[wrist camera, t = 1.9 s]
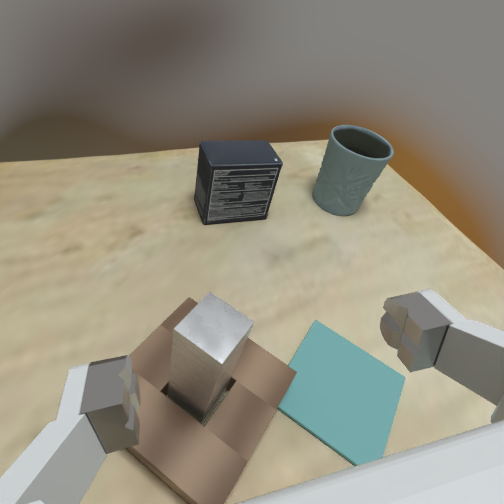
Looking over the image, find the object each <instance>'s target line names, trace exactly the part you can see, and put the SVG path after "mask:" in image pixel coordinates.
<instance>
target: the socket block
mask: <svg viewBox="0 0 504 504" xmlns="http://www.w3.org/2000/svg"><path fill="white" fill-rule="evenodd" d="M197 304H198V303H197V302H195V301H194V300H193V299H191V298H190V297H189V298H188V299H187V300H185V301H184V302H183V303H182V304H181V305H180V306H179V307H178V308H177V309H176V310H175V311H174V312H173V313H172V314H171V315H170V316H169V317H168V318H167V319H166V320H165V321H164V322H163V323H162V324H161V325H160V326H159V327H158V328H157V329H156V330H155V331H154V332H153V333H152V334H151V335H150V336H149V337H148V338H147V339H146V340H145V341H144V342H143V343H141V344H140V345H139V346H138V347H137V348H136V349H135V350H134V351H133V352H132V353H131V354H130V355H129V357H130V359H131V362H132V372H133V373H135V374H136V376H137V379H138V383H139V388H140V408H139V409H138V411H137V412H136V413H137V415H138V418H139V421H140V430H139V445H135V446H132V447H128V448H126V449H127V450H128V451H129V452H130V453H132V454H133V455H134V456H135V457H136V458H137V459H138V460H140V461H141V462H142V463H143V464H144V465H145V466H146V467H148V468H149V469H150V470H151V471H152V472H153V473H154V474H156V475H157V476H158V477H159V478H160V479H161V480H162V481H164V482H165V483H166V484H167V485H168V486H169V487H170V488H172V489H173V490H174V491H175V492H176V493H177V494H178V495H180V496H181V497H182V498H183V499H184V500H185V501H186V502H188V503H189V504H224V502H225V500H226V499H227V497H228V495H229V493H230V491H231V490H232V488H233V486H234V484H235V482H236V481H237V479H238V477H239V475H240V474H241V472H242V470H243V468H244V466H245V465H246V463H247V461H248V459H249V458H250V456H251V454H252V452H253V450H254V449H255V447H256V445H257V443H258V441H259V440H260V438H261V436H262V434H263V433H264V431H265V429H266V427H267V425H268V424H269V422H270V420H271V418H272V417H273V415H274V413H275V411H276V409H277V408H278V406H279V404H280V402H281V400H282V399H283V397H284V395H285V393H286V392H287V390H288V388H289V386H290V384H291V383H292V381H293V379H294V377H295V375H296V374H297V372H296V371H295V370H293V369H292V368H291V367H289V366H288V365H286V364H285V363H283V362H282V361H280V360H279V359H278V358H276V357H275V356H273V355H272V354H270V353H269V352H267V351H266V350H265V349H263V348H262V347H260V346H259V345H257V344H256V343H255V342H253V341H252V340H250V339H249V338H247V340H246V343H245V345H244V348H243V350H242V352H241V355H240V357H239V360H238V362H237V364H236V367H235V369H234V372H233V374H232V376H231V379H230V381H229V384H228V386H227V388H226V389H228V390H229V392H228V394H227V395H226V396H225V398H224V399H223V401H222V402H221V404H220V405H219V407H218V408H217V409H216V411H215V412H214V414H213V415H212V417H211V418H210V419H209V421H208V422H207V424H206V425H205V427H204V426H203V425H202V424H200V423H199V422H198V421H197V420H195V419H194V418H193V417H192V416H190V415H189V414H188V413H187V412H185V411H184V410H183V409H182V408H180V407H179V406H178V405H176V404H175V403H174V402H173V401H171V400H170V399H169V398H168V397H166V395H167V393H168V386H169V375H170V364H171V353H172V342H173V331H174V328H175V327H176V326H177V325H178V324H179V323H180V322H181V321H182V320H183V319H184V318H185V317H186V316H187V315H188V314H189V313H190V312H191V311H192V310H193V309H194V308H195V306H196V305H197Z"/></svg>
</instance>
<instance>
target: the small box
mask: <svg viewBox="0 0 504 504" xmlns="http://www.w3.org/2000/svg"><path fill="white" fill-rule="evenodd" d="M282 165H283V162H282V161H281V159H280V158H279V156H278V155H277V154H276V152H275V151H274V149H273V148H272V146H271V145H270V144H269V142H268V141H200V147H199V158H198V168H197V178H196V187H195V196H194V200H195V203H196V206H197V209H198V212H199V214H200V217H201V220H202V223H203V224H204V225H207V224H218V223H228V222H239V221H249V220H259V219H266V218H267V215H268V210H269V207H270V203H271V200H272V197H273V193H274V190H275V187H276V183H277V180H278V177H279V173H280V170H281V167H282Z"/></svg>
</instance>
